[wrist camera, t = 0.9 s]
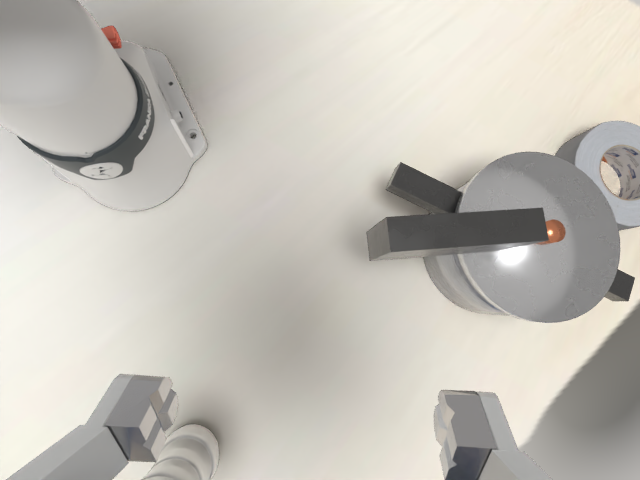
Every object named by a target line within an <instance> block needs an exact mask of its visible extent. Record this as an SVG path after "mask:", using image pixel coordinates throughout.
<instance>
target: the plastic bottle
mask: <svg viewBox="0 0 640 480" xmlns="http://www.w3.org/2000/svg"><path fill="white" fill-rule="evenodd" d="M218 462H219V448H218V443H217V440H216V438H215V436H214V435H213V434H212V432H211V431H210V430H208V429H207V428H205V427H203V426H201V425H197V424H190V425H185V426H183V427H181V428H179V429H177V430H176V431H174V432H173V433H171V434H170V435H169V436H168V437H167V438H166V441H165V444H164V446H163V448H162V451H161V453H160V455H159V458H158V460H157V462H155V464H154V466H153V468H152V469H151V470H150V471H149V472H148V473H147V475H146V476H145V477H143V478H142V479H141V480H211V479H212V477H213V476H214V474H215V472H216V469H217V466H218Z"/></svg>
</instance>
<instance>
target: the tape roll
mask: <svg viewBox="0 0 640 480" xmlns="http://www.w3.org/2000/svg"><path fill="white" fill-rule="evenodd" d="M555 156H556V157H559V158H561V159H563V160H566V161H568V162H569V163H571V164H573V165H574V166H576V167H577V168H579V169H580V170H581V171H583V172H584V173H585V174H586V175H587V176H589V177H590V178H591V179H592V180H593V181H594V183H595V184H596V185H597V186H598V187H599V188H600V190H601V191H602V193H603V194H604V196H605V197H606V199H607V201H608V203H609V204H610V206H611V208H612V211H613V213H614V216H615V219H616V222H617V226H618V231H619V230H624V229H629V228H634V227H639V226H640V126H637V125H635V124H632V123H629V122H624V121H610V122H604V123H601V124H599V125H597V126H595V127H593V128H592V129H590V130H588V131H586V132H584V133H582V134H580V135H578V136H576V137H575V138H573V139H571V140H569V141H567V142H566V143H565V144H564V145H562V146H561V148H560V149H559V150H558V151H557V153H556V155H555ZM601 161H604V162H606V163H608V164H609V165H610V166H611V167H612V168H613V169H614V170H615V171H616V173H617V175H618V177H619V180H620V187H621V188H620V194H619V197H618V196H616V195H615V194H613V193H612V192H611V191H610V190H609V189H608V188H607V186H606V185H605V183H604V181H603V179H602V176H601V171H600V166H601Z"/></svg>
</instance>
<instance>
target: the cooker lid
mask: <svg viewBox="0 0 640 480" xmlns="http://www.w3.org/2000/svg"><path fill="white" fill-rule="evenodd" d="M367 241H368V250H369V259H370V261H375V260H388V259H401V258H414V257H427V256H440V255H453V254H457V255H458V258H459V261H460V264H461V266H462V268H463V270H464V272H465V274H466V276H467V278H468V279H469V281H470V282H471V284H472V285H473V286H474V288H475V289H476V290H477V291H478V293H479V294H480V295H481V296H482V297H484V298H485V299H486V300H487V301H488V302H489V303H490V304H492V305H493V306H494V307H496V308H497V309H499V310H501V311H503V312H504V313H506V314H508V315H511V316H513V317H516V318H519V319H523V320H527V321H534V322H544V323H553V322H562V321H568V320H571V319H573V318H576V317H579V316H581V315H583V314H584V313H586V312H588V311H589V310H591V309H592V308H593V307H595V306H596V305H597V304H598V303H599V302H600V301H601V300H602V299H603V297H604V296H605V295H606V293H607V292H608V290H609V289H610V287H611V285H612V283H613V281H614V278H615V275H616V273H617V269H618V264H619V258H620V237H619V231H618V226H617V222H616V219H615V216H614V213H613V211H612V208H611V206H610V204H609V203H608V201H607V199H606V197H605V196H604V194H603V193H602V191H601V190H600V188H599V187H598V186H597V185H596V184H595V183H594V181H593V180H592V179H591V178H590V177H589V176H587V175H586V174H585V173H584V172H583V171H581V170H580V169H579V168H577V167H576V166H574V165H573V164H571V163H569V162H568V161H566V160H563V159H561V158H559V157H556V156H553V155H549V154H545V153H539V152H520V153H514V154H510V155H506V156H504V157H502V158H499V159H497V160H495V161H494V162H492V163H490V164H489V165H487V166H486V167H484V168H483V169H481V170H480V171H479V172H478V173H477V174H475V176H474V177H473V178H472V179H471V180H470V181H469V182H468V184H467V185H466V187H465V188H464V190H463V192H462V194H461V196H460V198H459V201H458V204H457V207H456V211H455V213H446V214H429V215H413V216H397V217H386V218H385V219H383V220H382V221H381V222H379V223H378V224H377V225H375V226H374V227H373V228H371V229H370V230H369V231H367Z"/></svg>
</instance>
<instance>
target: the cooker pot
mask: <svg viewBox="0 0 640 480" xmlns="http://www.w3.org/2000/svg"><path fill="white" fill-rule="evenodd" d="M467 184H468V183H466V184H465V185H463V186H462V187H460V188H458V189H457V190H456V189H454V188H452V187H450V186H448V185H446V184H444V183H442V182H440V181H438V180H436V179H434V178H432V177H430V176H428V175H426V174H424V173H422V172H420V171H418V170H416V169H414V168H412V167H410V166H408V165H406V164H403V163H401V162H400V163H399V165H398V166H397V167H396V168H395V170H394V172H393V174H392V177H391V179H390V181H389V183H388V185H387V188H386V190H387V191H389V192H391V193H394V194H396V195H398V196H400V197H402V198H404V199H406V200H408V201H410V202H412V203H414V204H416V205H418V206H420V207H422V208H424V209H426V210H428V211H430V212H431V213H430V214H446V213H455V211H456V207H457V204H458V201H459V198H460V196H461V194H462V192H463V190H464V188H465V187H466V185H467ZM423 259H424V263H425V266H426V269H427V271H428V274H429V276H430V278H431V279H432V281H433V283H434V284H435V286H436V287H437V288H438V289H439V291H440V292H441V293H442V294H443V295H444V296H445V297H446V298H448V299H449V300H450V301H452V302H453V303H454V304H456V305H458V306H460V307H462V308H464V309H466V310H469V311H473V312H477V313H484V314H498V315H508V314H506V313H504V312H503V311H501V310H499V309H497V308H496V307H494V306H493V305H492V304H490V303H489V302H488V301H487V300H486V299H485V298H484V297H482V296H481V295H480V294H479V293H478V291H477V290H476V289H475V288H474V286H473V285H472V284H471V282H470V281H469V279H468V278H467V276H466V274H465V272H464V270H463V268H462V266H461V264H460V261H459V258H458V255H457V254H453V255H440V256H427V257H423ZM634 280H635V278H634V277H632V276H630V275H628V274H626V273H624V272H622V271H620V270H618V269H617V273H616V275H615V278H614V281H613V283H612V285H611V287H610V289H609V290H608V292H607V293H606V295H605V296H604V297H606V298H608V299H610V300H612V301H629V297H630V294H631V290H632V287H633V283H634Z"/></svg>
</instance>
